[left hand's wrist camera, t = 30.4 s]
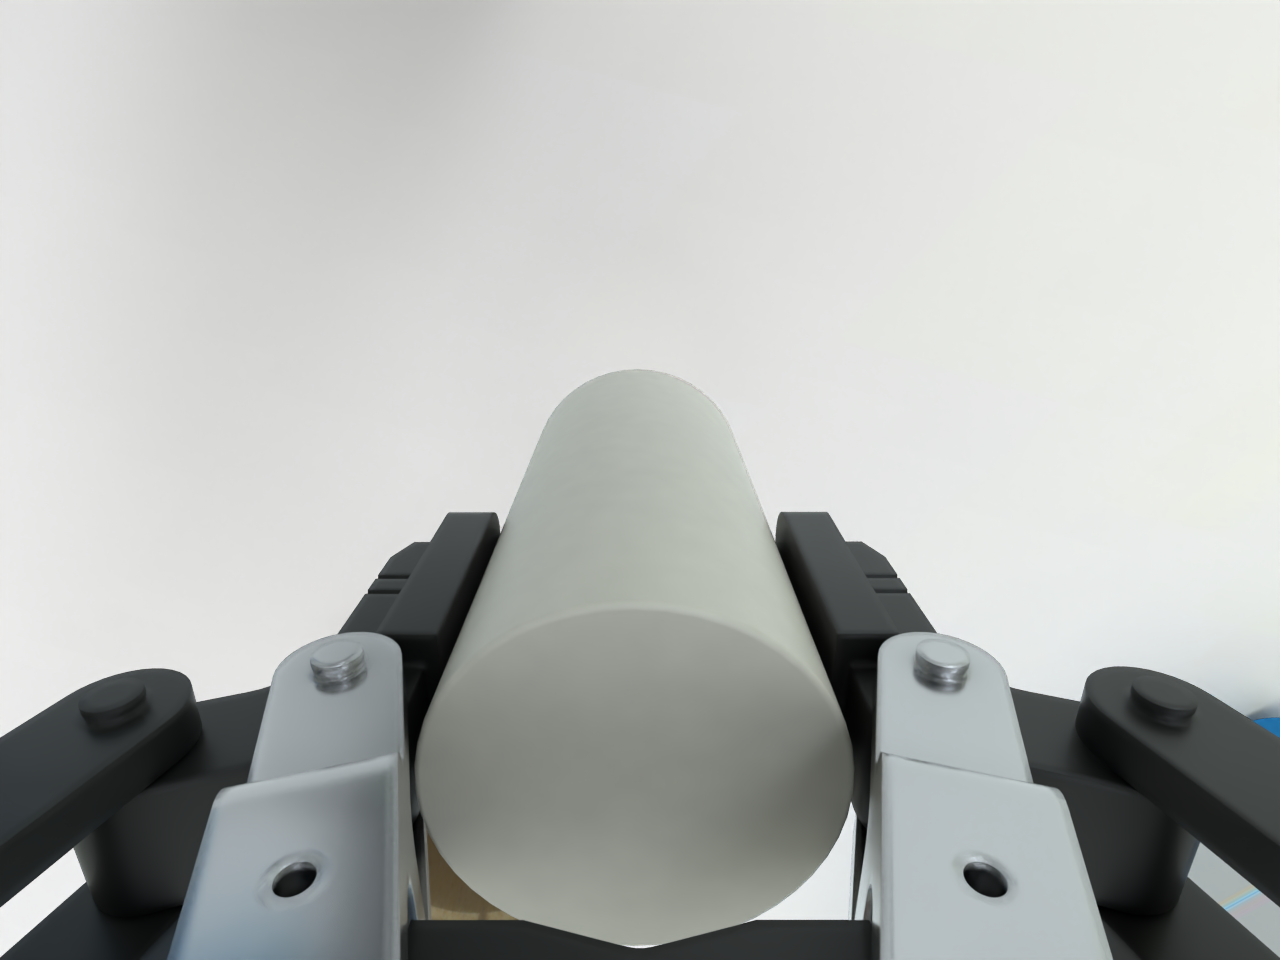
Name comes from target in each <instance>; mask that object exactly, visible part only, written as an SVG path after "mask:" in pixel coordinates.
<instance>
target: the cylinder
mask: <svg viewBox="0 0 1280 960" xmlns="http://www.w3.org/2000/svg"><path fill="white" fill-rule="evenodd" d="M414 769H415V788H416V794H417V798H418V803H419V808H420V812H421V815H422V818H423V821H424V823H425V826H426V828H427V831H428V833H429V836H430V837H431V839H432V841H433V842H434V844H435V846H436V848H437V849H438V851H439V853H440V854H441V856H442V857H443V858H444V860H445V861H446V862H447V863H448V865H449V866H450V867H451V869H452V870H453V871H454V872H455V873H456V874H457V875H458V876H459V877H460V878H461V879H462V880H463V881H464V882H465V883H466V884H467V885H468V886H469V887H470V888H471V889H472V890H473V891H475V892H476V893H477V894H479V895H480V896H481V897H483V898H484V899H485V900H486V901H488V902H489V903H490V904H492V905H494V906H495V907H497V908H499V909H500V910H502V911H504V912H505V913H507V914H509V915H510V916H512V917H514V918H517V919H519V920H525V921H529V922H533V923H537V924H541V925H545V926H548V927H552V928H556V929H560V930H564V931H568V932H572V933H576V934H579V935H583V936H587V937H591V938H595V939H599V940H603V941H606V942H610V943H614V944H618V945H630V946H638V945H660V944H666V943H670V942H674V941H677V940H681V939H685V938H689V937H693V936H697V935H701V934H704V933H708V932H712V931H716V930H720V929H724V928H728V927H732V926H735V925H739V924H742V923H744V922H747V921H749V920H751V919H753V918H755V917H757V916H759V915H761V914H762V913H764V912H766V911H767V910H769V909H771V908H773V907H774V906H776V905H778V904H779V903H780V902H782V901H783V900H784V899H786V898H787V897H788V896H790V895H791V894H792V893H794V892H795V891H796V890H797V889H798V888H799V887H800V886H801V885H802V884H803V883H805V882H806V881H807V880H808V879H809V878H810V877H811V876H812V875H813V874H814V872H815V871H816V870H817V869H818V867H819V866H820V865H821V864H822V863H823V861H824V860H825V859H826V858H827V856H828V854H829V853H830V851H831V849H832V848H833V846H834V844H835V843H836V841H837V839H838V838H839V835H840V833H841V831H842V828H843V826H844V823H845V821H846V818H847V815H848V811H849V807H850V803H851V798H852V794H853V784H854V769H855V768H854V758H853V749H852V743H851V740H850V736H849V732H848V729H847V725H846V722H845V720H844V717H843V714H842V712H841V709H840V707H839V704H838V702H837V699H836V696H835V694H834V691H833V689H832V686H831V684H830V681H829V679H828V676H827V673H826V671H825V668H824V666H823V663H822V661H821V658H820V656H819V653H818V650H817V648H816V645H815V643H814V640H813V638H812V635H811V633H810V630H809V627H808V625H807V622H806V620H805V617H804V615H803V612H802V610H801V607H800V604H799V602H798V599H797V597H796V594H795V592H794V589H793V587H792V584H791V581H790V579H789V576H788V574H787V571H786V569H785V566H784V564H783V561H782V558H781V556H780V553H779V551H778V548H777V546H776V543H775V541H774V538H773V535H772V533H771V530H770V528H769V525H768V523H767V520H766V518H765V515H764V512H763V510H762V507H761V505H760V502H759V500H758V497H757V495H756V492H755V489H754V487H753V484H752V482H751V479H750V477H749V474H748V472H747V469H746V466H745V464H744V461H743V459H742V456H741V454H740V451H739V449H738V446H737V443H736V441H735V438H734V436H733V433H732V431H731V429H730V427H729V424H728V422H727V420H726V419H725V417H724V416H723V414H722V412H721V411H720V410H719V408H718V407H717V406H716V405H715V404H714V402H713V401H712V400H711V399H710V398H709V397H707V396H706V395H705V394H704V393H703V392H702V391H700V390H699V389H697V388H696V387H695V386H693V385H692V384H690V383H688V382H686V381H684V380H682V379H680V378H678V377H675V376H672V375H669V374H666V373H662V372H657V371H652V370H639V369H637V370H623V371H617V372H612V373H608V374H605V375H602V376H599V377H597V378H594V379H592V380H590V381H588V382H586V383H584V384H583V385H581V386H580V387H578V388H577V389H575V390H574V391H573V392H571V393H570V394H569V395H568V396H567V397H566V398H565V399H564V400H563V401H562V402H561V403H560V404H559V405H558V406H557V407H556V409H555V410H554V412H553V413H552V415H551V416H550V418H549V419H548V421H547V423H546V425H545V427H544V429H543V432H542V434H541V437H540V439H539V441H538V444H537V446H536V449H535V451H534V454H533V456H532V458H531V461H530V463H529V466H528V468H527V471H526V473H525V475H524V478H523V480H522V483H521V485H520V488H519V490H518V492H517V495H516V497H515V500H514V502H513V505H512V507H511V509H510V512H509V514H508V517H507V519H506V522H505V524H504V526H503V529H502V531H501V534H500V536H499V538H498V541H497V543H496V546H495V548H494V551H493V553H492V555H491V558H490V560H489V563H488V565H487V568H486V570H485V572H484V575H483V577H482V580H481V582H480V585H479V587H478V589H477V592H476V594H475V597H474V599H473V602H472V604H471V606H470V609H469V611H468V614H467V616H466V619H465V621H464V623H463V626H462V628H461V631H460V633H459V636H458V638H457V640H456V643H455V645H454V648H453V650H452V653H451V655H450V657H449V660H448V662H447V665H446V667H445V670H444V672H443V674H442V677H441V679H440V682H439V684H438V687H437V689H436V691H435V694H434V696H433V699H432V701H431V704H430V706H429V708H428V711H427V713H426V716H425V718H424V721H423V724H422V728H421V731H420V734H419V738H418V741H417V747H416V755H415V764H414Z"/></svg>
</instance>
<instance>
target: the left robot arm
mask: <svg viewBox="0 0 1280 960" xmlns="http://www.w3.org/2000/svg"><path fill="white" fill-rule="evenodd" d="M499 536H500V526H499V520H498V516H497V514H496V513H494V512H465V513H448V514H447V515H446V517H445V519H444V520H443V522H442V524H441V525H440V527H439V529H438V530H437V532H436V533H435V535H434V537H433V538H432V540H431V542H414V543H412V544H411V545H409V546H408V547H406V548H405V549H403V550H401V551H400V552H398V553H397V554H395V555H394V556H392V557H391V558H390V559H389V560H388V562H387V563H386V565H385V566H384V568H383V569H382V571H381V572H380V573H379V575H378V579H375V581H374V582H373V584H372V585H371V586H370V588H369V589H368V594H365V595H364V597H363V598H362V600H361V601H360V602H359V604H358V605H357V607H356V608H355V610H354V611H353V613H352V614H351V615H350V617H349V618H348V620H347V621H346V623H345V624H344V626H343V627H342V628H341V630H340V631H339V633H338V634H337V635H332V636H328V637H325V638H322V639H319V640H316V641H314V642H311V643H309V644H307V645H305V646H303V647H301V648H299V649H298V650H296V651H294V652H293V653H292V654H290V655H289V656H288V657H286V658H285V659H284V660H283V661H282V662H281V663H280V665H279V666H278V667H277V669H276V670H275V673H274V675H273V679H272V683H271V686H269V687H266V688H263V689H259V690H255V691H251V692H246V693H241V694H236V695H231V696H226V697H221V698H216V699H211V700H205V701H200V702H196V699H195V696H194V692H193V688H192V685H191V682H190V680H189V679H188V677H187V676H186V675H184V674H182V673H180V672H178V671H174V670H170V669H141V670H135V671H129V672H125V673H121V674H117V675H114V676H111V677H107V678H104V679H102V680H99V681H97V682H94V683H91V684H89V685H87V686H85V687H83V688H81V689H79V690H77V691H75V692H73V693H72V694H70V695H68V696H66V697H65V698H63V699H62V700H60V701H58V702H57V703H55V704H54V705H52V706H50V707H49V708H47V709H46V710H44V711H42V712H41V713H39V714H38V715H36V716H34V717H33V718H31V719H29V720H28V721H26V722H25V723H23V724H21V725H20V726H18V727H17V728H15V729H13V730H12V731H10V732H9V733H7V734H5V735H4V736H2V737H1V738H0V907H1V906H3V905H4V904H5V903H6V902H7V901H9V900H10V899H11V898H12V897H14V896H15V895H16V894H17V893H18V892H20V891H21V890H22V889H23V888H25V887H26V886H27V885H28V884H29V883H31V882H32V881H33V880H34V879H36V878H37V877H38V876H39V875H40V874H42V873H43V872H44V871H45V870H46V869H48V868H49V867H50V866H51V865H53V864H54V863H55V862H56V861H57V860H59V859H60V858H61V857H62V856H64V855H65V854H66V853H67V852H68V851H70V850H71V849H72V848H73V847H74V850H75V853H76V855H77V858H78V861H79V863H80V866H81V869H82V871H83V874H84V877H85V879H86V883H85V884H83V885H82V886H81V887H80V888H79V889H78V890H77V891H75V892H74V893H73V894H72V895H71V896H70V897H69V898H68V899H66V900H65V901H64V902H63V903H62V904H61V905H60V906H58V907H57V908H56V909H55V910H54V911H53V912H52V913H50V914H49V915H48V916H47V917H46V918H45V919H44V920H42V921H41V922H40V923H39V924H38V925H37V926H36V927H35V928H33V929H32V930H31V931H30V932H29V933H28V934H27V935H25V936H24V937H23V938H22V939H21V940H20V941H19V942H17V943H16V944H15V945H14V946H13V947H12V948H11V949H9V950H8V951H7V952H6V953H5V954H4V955H3V956H1V957H0V960H1280V957H1278V956H1277V955H1276V954H1275V953H1274V952H1273V951H1272V950H1271V949H1269V948H1268V947H1267V946H1266V945H1265V944H1264V943H1263V942H1261V941H1260V940H1259V939H1258V938H1257V937H1256V936H1255V935H1253V934H1252V933H1251V932H1250V931H1249V930H1248V929H1247V928H1245V927H1244V926H1243V925H1242V924H1241V923H1240V922H1239V921H1238V920H1236V919H1235V918H1234V917H1233V916H1232V915H1231V914H1230V913H1228V912H1227V911H1226V910H1225V909H1224V908H1223V907H1222V906H1220V905H1219V904H1218V903H1217V902H1216V901H1215V900H1214V899H1212V898H1211V897H1210V896H1209V895H1208V894H1207V893H1206V892H1204V891H1203V890H1202V889H1201V888H1200V887H1199V886H1198V885H1197V884H1195V883H1194V882H1193V881H1192V880H1191V879H1190V878H1189V877H1187V876H1188V874H1189V871H1190V868H1191V866H1192V863H1193V860H1194V858H1195V855H1196V852H1197V849H1198V847H1199V844H1200V842H1201V843H1202V844H1203V845H1204V846H1205V847H1207V848H1208V849H1209V850H1210V851H1212V852H1213V853H1214V854H1215V855H1216V856H1218V857H1219V858H1220V859H1221V860H1223V861H1224V862H1225V863H1226V864H1227V865H1229V866H1230V867H1231V868H1232V869H1233V870H1235V871H1236V872H1237V873H1238V874H1240V875H1241V876H1242V877H1243V878H1244V879H1246V880H1247V881H1248V882H1249V883H1251V884H1252V885H1253V886H1254V887H1255V888H1257V889H1258V890H1259V891H1260V892H1262V893H1263V894H1264V895H1265V896H1266V897H1268V898H1269V899H1270V900H1271V901H1272V902H1274V903H1275V904H1276V905H1277V906H1279V907H1280V738H1279V737H1278V736H1276V735H1275V734H1273V733H1271V732H1270V731H1268V730H1266V729H1265V728H1263V727H1262V726H1260V725H1258V724H1257V723H1255V722H1254V721H1252V720H1250V719H1249V718H1247V717H1246V716H1244V715H1242V714H1241V713H1239V712H1238V711H1236V710H1234V709H1233V708H1231V707H1230V706H1228V705H1226V704H1225V703H1223V702H1222V701H1220V700H1218V699H1217V698H1215V697H1214V696H1212V695H1210V694H1209V693H1207V692H1205V691H1203V690H1202V689H1200V688H1198V687H1196V686H1194V685H1192V684H1190V683H1188V682H1185V681H1183V680H1180V679H1178V678H1175V677H1173V676H1169V675H1166V674H1163V673H1160V672H1156V671H1152V670H1147V669H1142V668H1135V667H1108V668H1103V669H1100V670H1097V671H1095V672H1093V673H1091V675H1090V676H1089V677H1088V678H1087V680H1086V683H1085V687H1084V690H1083V694H1082V698H1081V702H1079V701H1074V700H1069V699H1064V698H1058V697H1053V696H1048V695H1043V694H1038V693H1033V692H1028V691H1023V690H1019V689H1015V688H1011V687H1009V683H1008V679H1007V675H1006V673H1005V670H1004V669H1003V667H1002V666H1001V665H1000V663H999V662H998V661H997V660H996V659H995V658H994V657H992V656H991V655H990V654H988V653H987V652H986V651H984V650H982V649H981V648H979V647H977V646H975V645H973V644H971V643H969V642H966V641H964V640H961V639H958V638H955V637H952V636H948V635H943V634H938V633H937V632H936V631H935V630H934V628H933V627H932V625H931V624H930V622H929V621H928V619H927V618H926V616H925V615H924V613H923V612H922V610H921V609H920V607H919V606H918V605H917V603H916V602H915V600H914V599H913V597H912V596H911V594H910V593H907V588H906V587H905V585H904V584H903V582H902V581H901V580H900V578H897V574H896V572H895V571H894V569H893V568H892V566H891V565H890V563H889V562H888V560H887V559H886V557H884V556H883V555H881V554H880V553H878V552H877V551H875V550H874V549H872V548H871V547H869V546H867V545H866V544H864V543H863V542H845V540H844V539H843V537H842V535H841V534H840V532H839V530H838V528H837V527H836V525H835V523H834V522H833V520H832V518H831V517H830V515H829V514H828V513H827V512H781V513H780V514H779V516H778V520H777V527H776V540H775V543H776V546H777V548H778V551H779V553H780V556H781V558H782V561H783V564H784V566H785V569H786V571H787V574H788V576H789V579H790V581H791V584H792V587H793V589H794V592H795V594H796V597H797V599H798V602H799V604H800V607H801V610H802V612H803V615H804V617H805V620H806V622H807V625H808V627H809V630H810V633H811V635H812V638H813V640H814V643H815V645H816V648H817V650H818V653H819V656H820V658H821V661H822V663H823V666H824V668H825V671H826V673H827V676H828V679H829V681H830V684H831V686H832V689H833V691H834V694H835V696H836V699H837V702H838V704H839V707H840V709H841V712H842V714H843V717H844V720H845V722H846V725H847V729H848V732H849V736H850V740H851V743H852V749H853V758H854V768H855V769H854V784H853V794H852V798H851V802H852V805H853V808H854V810H855V813H856V816H855V823H854V830H853V845H852V863H851V882H850V900H849V918H848V920H755V921H751V922H747V923H743V924H739V925H735V926H732V927H728V928H724V929H720V930H716V931H712V932H708V933H704V934H701V935H697V936H693V937H689V938H685V939H681V940H677V941H674V942H670V943H666V944H662V945H658V946H654V947H649V948H631V947H626V946H622V945H618V944H614V943H610V942H606V941H603V940H599V939H595V938H591V937H587V936H583V935H579V934H576V933H572V932H568V931H564V930H560V929H556V928H552V927H548V926H545V925H541V924H537V923H533V922H529V921H525V920H432V918H431V900H430V882H429V863H428V845H427V830H426V826H425V823H424V821H423V818H422V815H421V812H420V808H419V803H418V798H417V794H416V788H415V769H414V764H415V755H416V747H417V741H418V738H419V734H420V731H421V728H422V724H423V721H424V718H425V716H426V713H427V711H428V708H429V706H430V704H431V701H432V699H433V696H434V694H435V691H436V689H437V687H438V684H439V682H440V679H441V677H442V674H443V672H444V670H445V667H446V665H447V662H448V660H449V657H450V655H451V653H452V650H453V648H454V645H455V643H456V640H457V638H458V636H459V633H460V631H461V628H462V626H463V623H464V621H465V619H466V616H467V614H468V611H469V609H470V606H471V604H472V602H473V599H474V597H475V594H476V592H477V589H478V587H479V585H480V582H481V580H482V577H483V575H484V572H485V570H486V568H487V565H488V563H489V560H490V558H491V555H492V553H493V551H494V548H495V546H496V543H497V541H498V538H499Z"/></svg>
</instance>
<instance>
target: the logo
mask: <svg viewBox="0 0 1280 960" xmlns="http://www.w3.org/2000/svg"><path fill="white" fill-rule="evenodd" d="M1254 722H1255V723H1257V724H1258V725H1260V726H1262V727H1263V728H1265V729H1266V730H1268V731H1270V732H1271V733H1273V734H1275V735H1276V736H1278V737H1279V738H1280V718H1264V719H1258V720H1254ZM1187 877H1189V878H1190V879H1191V880H1192V881H1193V882H1194V883H1195V884H1197V885H1198V886H1199V887H1200V888H1201V889H1202V890H1203V891H1204V892H1206V893H1207V894H1208V895H1209V896H1210V897H1211V898H1212V899H1214V900H1215V901H1216V902H1217V903H1218V904H1219V905H1220V906H1222V907H1223V908H1224V909H1225V910H1226V911H1227V912H1228V913H1230V914H1231V915H1232V916H1233V917H1234V918H1235V919H1236V920H1238V921H1239V922H1240V923H1241V924H1242V925H1243V926H1244V927H1245V928H1247V929H1248V930H1249V931H1250V932H1251V933H1252V934H1253V935H1255V936H1256V937H1257V938H1258V939H1259V940H1260V941H1261V942H1263V943H1264V944H1265V945H1266V946H1267V947H1268V948H1269V949H1271V950H1272V951H1273V952H1274V953H1275V954H1276V955H1277V956H1278V957H1280V907H1279V906H1277V905H1276V904H1275V903H1274V902H1272V901H1271V900H1270V899H1269V898H1268V897H1266V896H1265V895H1264V894H1263V893H1262V892H1260V891H1259V890H1258V889H1257V888H1255V887H1254V886H1253V885H1252V884H1251V883H1249V882H1248V881H1247V880H1246V879H1244V878H1243V877H1242V876H1241V875H1240V874H1238V873H1237V872H1236V871H1235V870H1233V869H1232V868H1231V867H1230V866H1229V865H1227V864H1226V863H1225V862H1224V861H1223V860H1221V859H1220V858H1219V857H1218V856H1216V855H1215V854H1214V853H1213V852H1212V851H1210V850H1209V849H1208V848H1207V847H1205V846H1204V845H1203V844H1202V843H1201V842H1200V844H1199V847H1198V849H1197V852H1196V855H1195V858H1194V860H1193V863H1192V866H1191V868H1190V871H1189V874H1188V876H1187Z"/></svg>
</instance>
